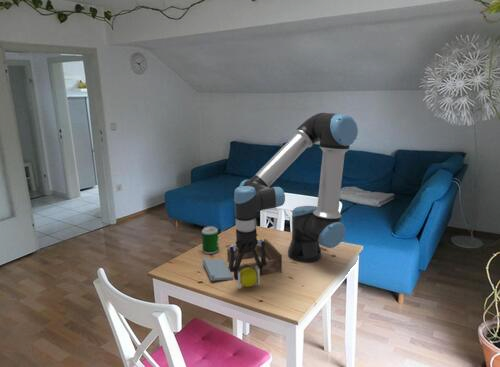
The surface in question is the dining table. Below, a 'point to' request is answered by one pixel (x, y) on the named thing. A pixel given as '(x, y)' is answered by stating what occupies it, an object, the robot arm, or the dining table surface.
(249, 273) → the tennis ball
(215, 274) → the blue-grey book
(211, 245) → the soda can
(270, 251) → the crate
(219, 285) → the dining table surface
